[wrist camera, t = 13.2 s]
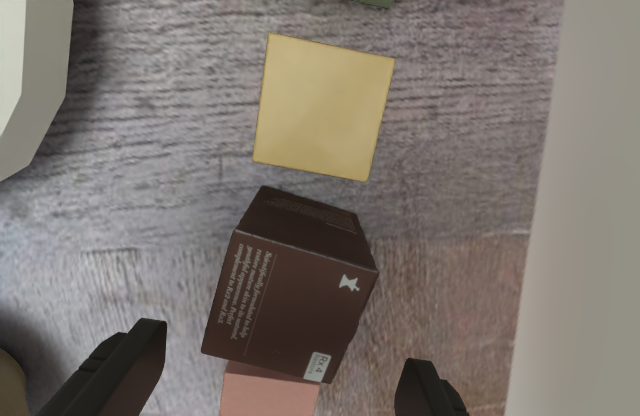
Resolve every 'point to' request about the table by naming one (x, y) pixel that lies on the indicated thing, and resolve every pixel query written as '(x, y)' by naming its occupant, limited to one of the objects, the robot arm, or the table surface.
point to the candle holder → (31, 75)
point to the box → (291, 287)
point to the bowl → (12, 387)
